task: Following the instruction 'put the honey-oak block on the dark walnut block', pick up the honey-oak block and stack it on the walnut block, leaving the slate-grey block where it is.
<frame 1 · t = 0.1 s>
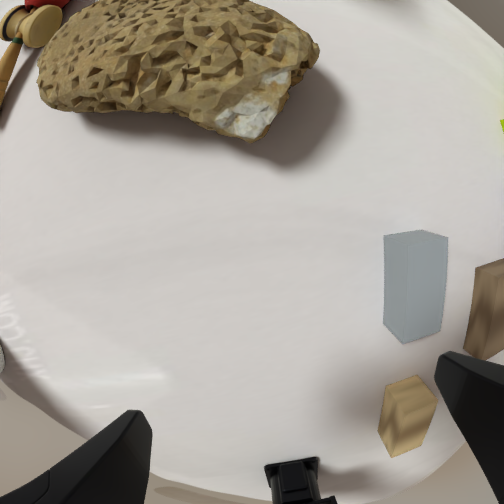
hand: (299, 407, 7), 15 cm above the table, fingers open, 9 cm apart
oak block: (396, 404, 25), on the table
grey block: (402, 277, 22), on the table
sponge: (165, 70, 18), on the table
walnut block: (489, 300, 23), on the table
kendama: (33, 47, 15), on the table
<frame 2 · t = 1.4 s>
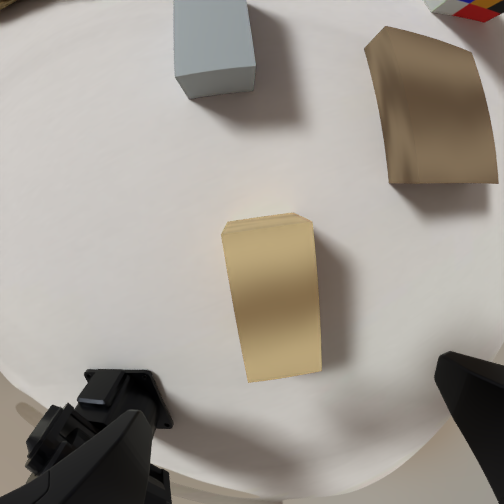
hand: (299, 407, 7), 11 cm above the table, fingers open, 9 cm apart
oak block: (268, 279, 18), on the table
grey block: (216, 44, 14), on the table
walnut block: (421, 116, 16), on the table
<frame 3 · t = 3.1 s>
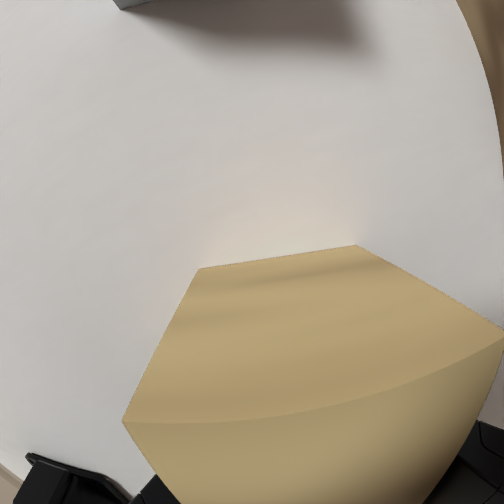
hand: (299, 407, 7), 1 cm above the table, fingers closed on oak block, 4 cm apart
oak block: (293, 384, 8), on the table, touching gripper
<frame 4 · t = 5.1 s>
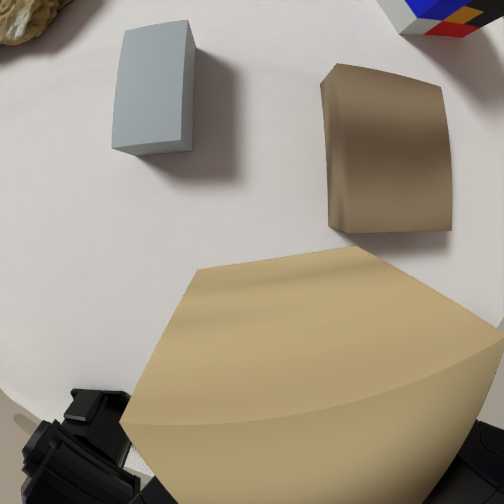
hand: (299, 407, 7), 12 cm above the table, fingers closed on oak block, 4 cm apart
oak block: (293, 385, 8), point 11 cm above the table, touching gripper
grey block: (165, 98, 16), on the table
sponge: (15, 24, 12), on the table
walnut block: (376, 155, 18), on the table
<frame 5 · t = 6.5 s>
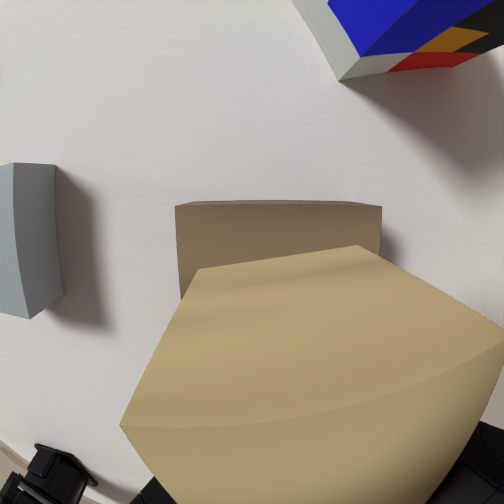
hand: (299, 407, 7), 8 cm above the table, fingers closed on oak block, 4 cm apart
oak block: (294, 385, 8), point 7 cm above the table, touching gripper
grey block: (36, 231, 14), on the table
puzzle toy: (367, 9, 11), on the table
walnut block: (272, 294, 15), on the table
when the fingers open (6 cm above the table, at t = 7.1 s): oak block drops 2 cm, resting on walnut block.
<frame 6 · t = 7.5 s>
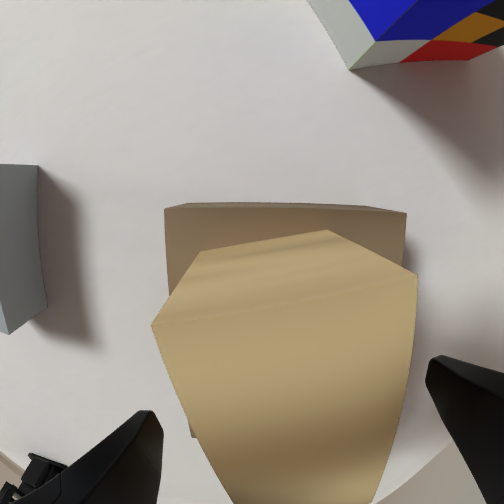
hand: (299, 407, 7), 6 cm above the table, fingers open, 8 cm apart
oak block: (281, 351, 9), point 4 cm above the table, touching walnut block
grey block: (19, 237, 12), on the table
walnut block: (276, 307, 13), on the table, touching oak block
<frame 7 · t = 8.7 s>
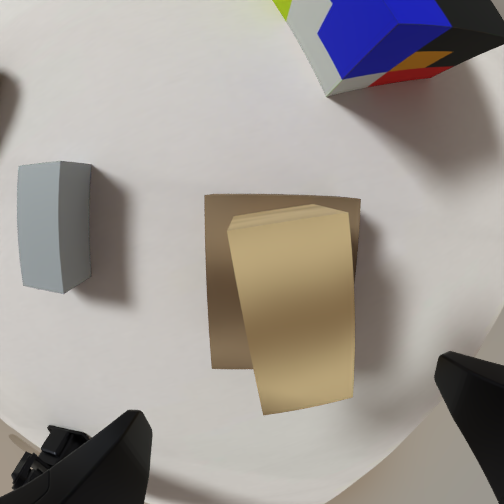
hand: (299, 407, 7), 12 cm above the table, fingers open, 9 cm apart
oak block: (284, 286, 15), point 4 cm above the table
grey block: (69, 220, 17), on the table
puzzle toy: (354, 30, 15), on the table
walnut block: (275, 270, 19), on the table
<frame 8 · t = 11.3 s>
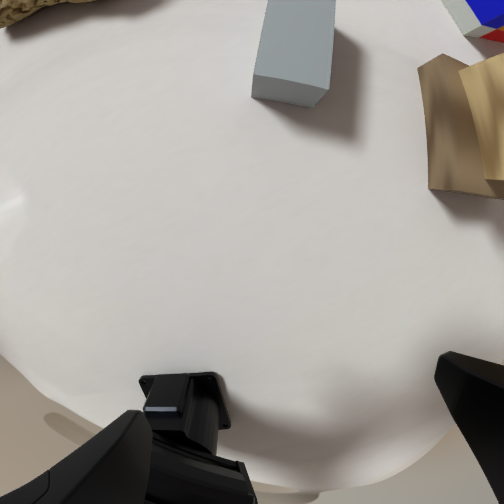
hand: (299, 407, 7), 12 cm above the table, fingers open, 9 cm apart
oak block: (488, 124, 13), point 4 cm above the table, touching walnut block
grey block: (289, 54, 15), on the table
puzzle toy: (462, 4, 13), on the table
walnut block: (457, 134, 17), on the table, touching oak block
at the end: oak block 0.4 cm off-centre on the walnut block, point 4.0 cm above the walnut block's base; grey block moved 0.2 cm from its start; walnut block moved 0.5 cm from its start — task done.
